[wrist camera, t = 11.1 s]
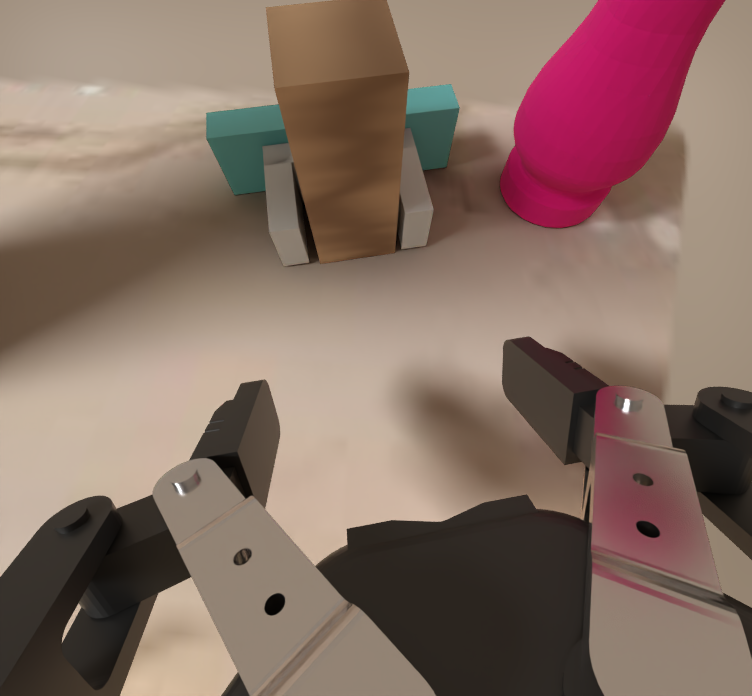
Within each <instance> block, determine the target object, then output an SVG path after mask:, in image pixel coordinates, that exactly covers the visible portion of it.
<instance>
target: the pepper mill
mask: <svg viewBox="0 0 752 696" xmlns="http://www.w3.org/2000/svg"><path fill="white" fill-rule="evenodd" d="M724 2H725V0H598V2H597V3H596V5H595V6H594V8H593V9H592V11H591V12H590V14H589V15H588V16H587V17H586V18H585V20H584V21H583V22H582V23H581V25H580V26H579V27H578V28H577V29H576V31H575V32H574V33H573V35H572V36H571V37H570V38H569V39H568V40H567V41H566V42H565V43H564V44H563V45H562V46H561V48H560V49H559V50H558V51H557V52H556V53H555V54H554V55H553V56H552V57H551V59H550V60H549V61H548V62H547V63H546V64H545V65H544V67H543V68H542V70H541V71H540V72H539V74H538V75H537V77H536V78H535V80H534V81H533V83H532V84H531V85H530V87H529V88H528V90H527V92H526V95H525V96H524V99H523V101H522V103H521V105H520V107H519V109H518V111H517V114H516V118H515V123H514V138H515V146H514V148H513V149H512V151H511V153H510V155H509V157H508V160H507V162H506V165H505V167H504V170H503V172H502V175H501V179H500V188H501V193H502V195H503V198H504V200H505V202H506V203H507V205H508V206H509V207H510V208H511V210H512V211H514V212H515V213H516V214H517V215H519V216H520V217H521V218H523V219H525V220H527V221H529V222H531V223H533V224H537V225H540V226H544V227H553V228H564V227H568V226H573V225H576V224H579V223H581V222H583V221H584V220H586V219H587V218H588V217H590V216H591V215H592V214H593V212H594V211H595V210H596V209H597V208H598V206H599V205H600V204H601V202H602V201H603V200H604V199H605V197H606V196H607V195H608V193H609V192H610V190H611V187H612V186H613V185H616V184H618V183H620V182H622V181H624V180H626V179H628V178H630V177H631V176H633V175H634V174H635V173H636V172H637V171H638V170H640V169H641V168H642V167H643V166H644V165H645V163H646V162H647V161H648V160H649V158H650V157H651V155H652V154H653V153H654V151H655V150H656V148H657V147H658V146H659V144H660V143H661V141H662V140H663V138H664V136H665V134H666V132H667V130H668V128H669V126H670V124H671V121H672V119H673V117H674V115H675V112H676V109H677V105H678V102H679V99H680V96H681V92H682V89H683V86H684V82H685V79H686V76H687V73H688V70H689V67H690V65H691V62H692V59H693V56H694V54H695V51H696V49H697V47H698V45H699V43H700V42H701V39H702V37H703V36H704V34H705V32H706V30H707V28H708V26H709V24H710V23H711V21H712V20H713V18H714V17H715V15H716V14H717V12H718V11H719V9H720V8H721V6H722V5H723V3H724Z"/></svg>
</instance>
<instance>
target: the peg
mask: <svg viewBox="0 0 752 696" xmlns="http://www.w3.org/2000/svg"><path fill="white" fill-rule="evenodd" d="M266 12H267V23H268V32H269V41H270V50H271V60H272V70H273V79H274V88H275V92H276V96H277V100H278V104H279V107H280V111H281V115H282V119H283V123H284V127H285V130H286V134H287V138H288V142H289V146H290V150H291V153H292V157H293V161H294V165H295V169H296V173H297V176H298V180H299V184H300V188H301V192H302V195H303V199H304V203H305V207H306V211H307V215H308V218H309V222H310V226H311V230H312V234H313V238H314V241H315V245H316V249H317V253H318V257H319V261H320V264H323V263H330V262H337V261H344V260H350V259H357V258H364V257H371V256H377V255H384V254H391V253H395V246H396V233H397V220H398V208H399V195H400V182H401V170H402V157H403V144H404V132H405V119H406V106H407V94H408V81H409V70H408V67H407V64H406V60H405V57H404V54H403V51H402V48H401V44H400V42H399V38H398V35H397V32H396V28H395V26H394V23H393V19H392V16H391V13H390V9H389V6H388V3H387V0H333V1H324V2H314V3H304V4H294V5H285V6H275V7H266Z"/></svg>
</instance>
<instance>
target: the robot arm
mask: <svg viewBox="0 0 752 696" xmlns="http://www.w3.org/2000/svg"><path fill="white" fill-rule="evenodd" d="M502 384H503V389H504V392H505V395H506V397H507V398H508V400H509V401H510V402H511V403H512V404H513V405H514V407H515V408H516V409H517V410H518V411H519V412H520V414H521V415H522V416H523V417H524V418H525V419H526V421H527V422H528V423H529V424H530V425H531V426H532V428H533V429H534V430H535V431H536V432H537V433H538V435H539V436H540V437H541V438H542V439H543V440H544V442H545V443H546V444H547V445H548V446H549V447H550V449H551V450H552V451H553V452H554V453H555V454H556V456H557V457H558V458H559V459H560V460H561V461H562V463H563V464H564V465H567V464H572V463H578V462H583V463H584V464H585V470H584V476H583V488H582V501H581V513H580V519H579V518H577V517H574V516H571V515H568V514H564V513H560V512H556V511H550V510H543V509H536V508H535V506H534V505H533V503H532V502H531V500H530V499H529V497H528V496H527V495H522V496H517V497H511V498H506V499H501V500H496V501H490V502H485V503H482V504H480V505H478V506H476V507H473V508H471V509H469V510H467V511H465V512H463V513H461V514H458V515H456V516H454V517H452V518H450V519H448V520H445V521H442V522H423V521H397V520H391V521H386V522H381V523H375V524H370V525H365V526H360V527H355V528H349V529H347V542H348V545H346V546H344V547H342V548H340V549H338V550H336V551H335V552H333V553H331V554H330V555H328V556H327V557H326V558H324V559H323V560H322V561H320V562H319V563H318V564H317V565H316V566H314V564H313V563H312V562H311V561H310V560H309V559H308V558H307V556H306V555H305V554H304V553H303V552H302V551H301V550H300V548H299V547H298V546H297V545H296V544H295V543H294V542H293V540H292V539H291V538H290V537H289V536H288V535H287V534H286V533H285V531H284V530H283V529H282V528H281V527H280V526H279V525H278V523H277V522H276V521H275V520H274V519H273V518H272V517H271V515H270V514H269V513H268V512H267V511H266V510H265V507H266V502H267V497H268V492H269V487H270V483H271V478H272V473H273V468H274V463H275V458H276V454H277V449H278V444H279V439H280V425H279V420H278V416H277V413H276V409H275V406H274V402H273V399H272V395H271V392H270V389H269V385H268V383H267V381H266V380H259V381H253V382H247V383H242V384H241V385H240V387H239V389H238V391H237V393H236V395H235V397H234V399H233V400H229V401H226V402H225V403H224V404H223V405H221V406H220V407H219V408H218V409H217V410H216V411H215V412H214V414H213V416H212V418H211V420H210V424H208V426H207V428H206V429H205V433H203V435H202V437H201V439H200V441H199V443H198V445H197V447H196V448H195V450H194V452H193V454H192V456H191V458H190V460H189V461H187V462H184V463H182V464H180V465H178V466H176V467H174V468H172V469H171V470H170V471H168V472H167V473H166V474H164V475H163V476H162V477H161V478H160V479H159V481H158V482H157V483H156V485H155V487H154V489H153V495H150V496H148V497H145V498H143V499H140V500H138V501H135V502H133V503H130V504H128V505H125V506H123V507H120V508H118V509H116V507H115V506H114V504H113V502H112V501H111V499H110V498H108V497H106V496H93V497H89V498H85V499H83V500H80V501H78V502H75V503H73V504H71V505H69V506H67V507H66V508H64V509H62V510H61V511H59V512H58V513H56V514H55V515H54V516H52V517H51V518H50V519H49V520H48V521H46V522H45V523H44V524H43V525H42V526H41V527H40V529H39V530H38V531H37V532H36V533H35V535H34V536H33V537H32V538H31V540H30V541H29V542H28V543H27V545H26V546H25V547H24V548H23V550H22V551H21V552H20V553H19V555H18V556H17V557H16V558H15V560H14V561H13V562H12V563H11V565H10V566H9V567H8V568H7V570H6V571H5V572H4V573H3V574H2V576H1V577H0V696H120V694H121V691H122V688H123V686H124V683H125V680H126V678H127V675H128V672H129V670H130V667H131V664H132V662H133V659H134V656H135V654H136V651H137V648H138V646H139V643H140V640H141V638H142V635H143V632H144V629H145V627H146V624H147V621H148V619H149V616H150V613H151V611H152V608H153V605H154V603H155V600H156V597H157V595H158V593H159V592H161V591H163V590H165V589H167V588H170V587H172V586H174V585H176V584H178V583H180V582H182V581H184V580H186V579H188V578H190V577H192V579H193V581H194V583H195V585H196V587H197V589H198V591H199V593H200V595H201V597H202V599H203V601H204V603H205V605H206V607H207V609H208V611H209V613H210V616H211V618H212V620H213V622H214V624H215V626H216V628H217V630H218V632H219V634H220V636H221V638H222V640H223V642H224V644H225V646H226V648H227V650H228V652H229V654H230V656H231V658H232V660H233V662H234V664H235V666H236V668H237V670H238V673H237V674H236V675H235V677H234V678H233V680H232V681H231V683H230V684H229V685H228V687H227V688H226V690H225V691H224V693H223V694H222V695H221V696H752V608H751V607H749V606H747V605H745V604H743V603H741V602H740V601H737V600H736V599H734V598H732V597H730V596H728V595H726V594H724V593H723V592H722V589H721V586H720V582H719V578H718V574H717V570H716V566H715V562H714V558H713V555H712V551H711V547H710V544H709V539H708V535H707V531H706V527H705V523H704V519H703V515H704V516H705V517H707V518H708V519H709V520H710V521H711V522H712V523H713V524H714V525H715V526H716V527H717V528H718V529H719V530H720V531H722V532H723V533H724V534H725V535H726V536H727V537H728V538H729V539H730V540H731V541H732V542H733V543H734V544H735V545H736V546H737V547H739V548H740V549H741V550H742V551H743V552H744V553H745V554H746V555H747V556H748V557H749V558H750V559H751V560H752V392H748V391H744V390H740V389H735V388H728V387H708V388H705V389H702V390H700V391H699V393H698V395H697V398H696V401H695V405H694V406H693V405H663V402H662V401H661V400H660V399H659V398H658V397H656V396H655V395H653V394H651V393H649V392H647V391H645V390H642V389H638V388H634V387H629V386H609V385H607V384H606V383H604V382H603V381H602V380H600V379H599V378H597V377H596V376H594V375H593V374H591V373H590V372H589V371H587V370H586V369H582V367H581V366H580V365H578V364H577V363H576V362H573V360H571V359H570V358H568V357H567V356H566V355H564V354H563V353H560V352H557V351H555V350H552V349H549V348H545V347H543V346H542V345H541V344H539V343H538V342H536V341H535V340H534V339H532V338H531V337H522V338H516V339H510V340H506V341H505V342H504V346H503V371H502ZM702 514H703V515H702ZM78 603H79V604H80V605H81V607H82V608H81V609H80V611H79V613H78V615H77V617H76V619H75V620H74V622H73V624H72V626H71V628H70V630H69V631H68V633H67V635H66V637H65V639H64V641H63V642H62V637H63V633H64V630H65V627H66V625H67V623H68V621H69V619H70V617H71V616H72V614H73V612H74V610H75V608H76V607H77V605H78Z"/></svg>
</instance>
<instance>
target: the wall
mask: <svg viewBox="0 0 752 696" xmlns="http://www.w3.org/2000/svg"><path fill="white" fill-rule="evenodd" d="M459 108H460V107H459V105H458V102H457V99H456V96H455V94H454V91H453V88H452V86H451V84H449V85H439V86H431V87H422V88H414V89H408V94H407V106H406V119H405V128H411V132H412V135H413V139H414V142H415V146H416V149H417V153H418V156H419V160H420V163H421V167H422V170H429V169H436V168H444V167H447V162H448V158H449V153H450V149H451V144H452V140H453V135H454V131H455V126H456V122H457V117H458V113H459ZM206 139H207V141H208V143H209V145H210V147H211V149H212V151H213V153H214V155H215V157H216V159H217V161H218V163H219V165H220V167H221V169H222V171H223V173H224V175H225V177H226V179H227V181H228V183H229V185H230V187H231V189H232V191H233V193H234V195H238V194H246V193H254V192H261V191H266V187H265V174H264V161H263V148H262V146H268V145H276V144H284V143H289V142H288V138H287V134H286V130H285V127H284V123H283V119H282V115H281V111H280V107H279V104H278V105H269V106H261V107H252V108H244V109H235V110H227V111H218V112H210V113H206Z"/></svg>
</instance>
